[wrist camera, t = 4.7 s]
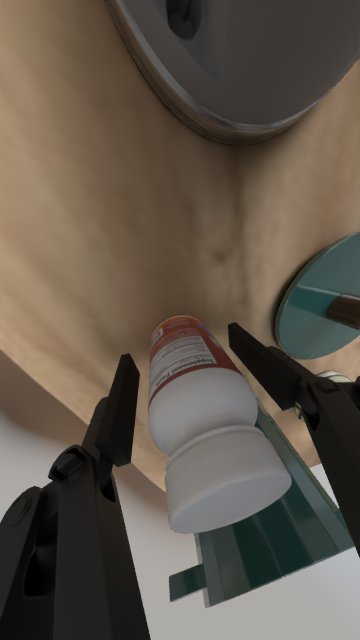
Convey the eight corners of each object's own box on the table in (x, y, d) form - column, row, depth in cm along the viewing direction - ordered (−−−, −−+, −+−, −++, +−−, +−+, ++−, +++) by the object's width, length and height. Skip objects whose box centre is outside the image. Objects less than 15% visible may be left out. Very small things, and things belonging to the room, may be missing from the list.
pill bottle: (210, 353, 16) (296, 503, 7) (159, 368, 16) (170, 551, 6) (203, 306, 14) (338, 439, 4) (142, 321, 13) (112, 521, 3)
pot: (150, 412, 19) (146, 635, 8) (277, 371, 20) (429, 515, 9) (173, 454, 25) (190, 613, 14) (269, 421, 26) (355, 543, 15)
